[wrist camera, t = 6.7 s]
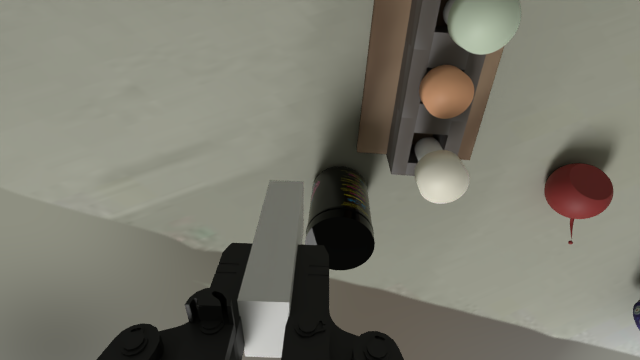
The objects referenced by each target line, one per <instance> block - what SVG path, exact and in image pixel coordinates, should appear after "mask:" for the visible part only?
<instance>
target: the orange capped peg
mask: <svg viewBox="0 0 640 360" xmlns="http://www.w3.org/2000/svg"><path fill="white" fill-rule="evenodd" d="M419 95H420V99H421V101H422V102H423V104H424V106H425V107H426V109H427V110H428V112H429V113H430V114H432V115H433V116H435V117H437V118H442V119H448V118H453V117H456V116H458V115H460V114H461V113H463V112H464V111H465V110H466V109H467V108H468V107H469V105H470V104H471V102H472V100H473V97H474V85H473V82H472V80H471V79H470V78H469V76H467V75H466V74H465V73H464V72H463V71H461V70H460V69H459V68H457V67H455V66H452V65H441V66H438V67H435V68H428V67H427V71H426V75H425V76H424V78H423V79H422V81H421V84H420V88H419Z"/></svg>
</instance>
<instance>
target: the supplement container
mask: <svg viewBox="0 0 640 360" xmlns="http://www.w3.org/2000/svg"><path fill="white" fill-rule="evenodd" d="M374 244H375V243H374V232H373V227H372V221H371V214H370V206H369V198H368V190H367V184H366V182H365V180H364V178H363V177H362V176H361V175H360V174H359V173H358V172H356V171H355V170H353V169H350V168H347V167H332V168H329V169H327V170H325V171H323V172H322V173H321V174H319V175H318V177H317V178H316V179H315V181H314V183H313V187H312V195H311V203H310V211H309V219H308V226H307V230H306V240H305V245H324V247H325V249H326V250H327V252H328V254H329V269H332V270H348V269H353V268H355V267H358V266H360V265H362V264H363V263H365V262H366V261H367V260H368V259H369V258H370V256H371V255H372V253H373V250H374Z"/></svg>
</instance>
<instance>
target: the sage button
mask: <svg viewBox="0 0 640 360" xmlns="http://www.w3.org/2000/svg"><path fill="white" fill-rule="evenodd" d="M443 19H444V21H445V23H446V24H447V27H448V32H449V35H450V37H451V39H452V40H453V41H454V42H455V43H456V44H457V45H459V46H460V47H462V48H464V49H465V50H467V51H468V52H470V53H473V54H479V55H483V54H489V53H492V52H495V51H497V50H499V49H500V48H502V47H503V46H505V45H506V44H507V43H508V42H509V41H510V40H511V39H512V37H513V36H514V34H515V33H516V31H517V29H518V27H519V24H520V20H521V5H520V2H519V0H449V1H448V2H447V3H446V5H445V7H444V10H443Z"/></svg>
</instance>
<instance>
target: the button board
mask: <svg viewBox="0 0 640 360" xmlns="http://www.w3.org/2000/svg"><path fill="white" fill-rule="evenodd" d="M448 1H449V0H374V6H373V15H372V23H371V32H370V40H369V49H368V57H367V66H366V74H365V83H364V91H363V100H362V108H361V117H360V125H359V134H358V142H357V152H362V153H376V154H386V155H387V159H388V163H389V167H390V171H391V174H396V175H410V176H415V175H414V171H415V167H416V165H417V163H418V159H417V157H416V154H415V151H414V148H415V145H416V143H417V142H418V141H419V140H420V139H422V138H425V137H433V138H435V139H436V140H437V141H438V142H439V144H440V145H441V147H442V149H443V150H447V151H450V152H453V153H454V154H456V155H457V156H458V157H459V158H460V159H463V160H470V157H471V154H472V151H473V147H474V144H475V141H476V137H477V134H478V131H479V127H480V124H481V121H482V118H483V114H484V111H485V108H486V104H487V101H488V98H489V94H490V91H491V88H492V85H493V81H494V78H495V75H496V71H497V68H498V65H499V62H500V58H501V55H502V52H503V48H504V46H503V47H502V48H500V49H499V50H497V51H495V52H492V53H489V54H483V55H479V54H473V53H470V52H468V51H467V50H465V49H464V48H462V47H460V46H459V45H457V44H456V43H455V42H454V41H453V40H452V39H451V37H450V35H449V32H448V27H447V24H446V23H445V21H444V19H443V10H444V7H445V5H446V3H447V2H448ZM441 65H452V66H455V67H457V68H459V69H460V70H461V71H463V72H464V73H465V74H466V75H467V76H469V78H470V79H471V80H472V82H473V85H474V97H473V100H472V102H471V104H470V105H469V107H468V108H467V109H466V110H465V111H464V112H463V113H461V114H460V115H458V116H456V117H453V118H448V119H442V118H437V117H435V116H433V115H432V114H430V113H429V112H428V110H427V109H426V107H425V106H424V104H423V102H422V101H421V99H420V95H419V88H420V84H421V81H422V79H423V78H424V76H425V75H426V71H427V67H428V68H435V67H438V66H441Z"/></svg>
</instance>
